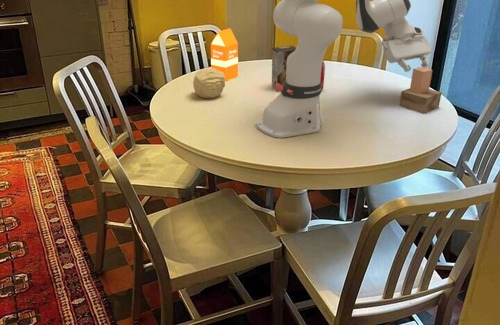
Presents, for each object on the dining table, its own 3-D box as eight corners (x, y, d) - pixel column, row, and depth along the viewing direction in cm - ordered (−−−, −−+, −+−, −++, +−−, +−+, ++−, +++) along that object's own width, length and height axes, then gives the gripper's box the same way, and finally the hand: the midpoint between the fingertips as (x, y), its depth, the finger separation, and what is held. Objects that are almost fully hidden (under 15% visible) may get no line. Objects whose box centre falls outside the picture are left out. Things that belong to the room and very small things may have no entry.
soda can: (322, 93, 188) (325, 63, 182) (304, 92, 189) (306, 62, 184) (323, 87, 194) (326, 58, 189) (306, 86, 195) (308, 57, 190)
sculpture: (200, 102, 178) (198, 74, 173) (190, 93, 187) (188, 65, 182) (228, 98, 182) (228, 70, 177) (217, 89, 192) (216, 62, 187)
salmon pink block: (419, 93, 171) (423, 71, 167) (409, 90, 174) (413, 68, 171) (428, 91, 173) (432, 70, 169) (418, 88, 176) (422, 66, 173)
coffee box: (291, 84, 197) (293, 45, 190) (297, 89, 192) (300, 49, 184) (270, 86, 195) (271, 47, 187) (276, 91, 189) (277, 51, 182)
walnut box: (423, 114, 169) (426, 98, 167) (399, 106, 176) (401, 91, 173) (438, 108, 175) (441, 92, 172) (414, 100, 182) (416, 85, 179)
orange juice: (211, 78, 204) (209, 30, 195) (224, 73, 211) (223, 27, 202) (225, 81, 200) (225, 33, 191) (238, 76, 207) (238, 29, 198)
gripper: (385, 33, 167) (403, 68, 164) (424, 28, 177) (441, 60, 174) (374, 44, 172) (391, 77, 169) (413, 38, 182) (429, 69, 179)
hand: (417, 68), depth 171 cm, fingers open, 8 cm apart
